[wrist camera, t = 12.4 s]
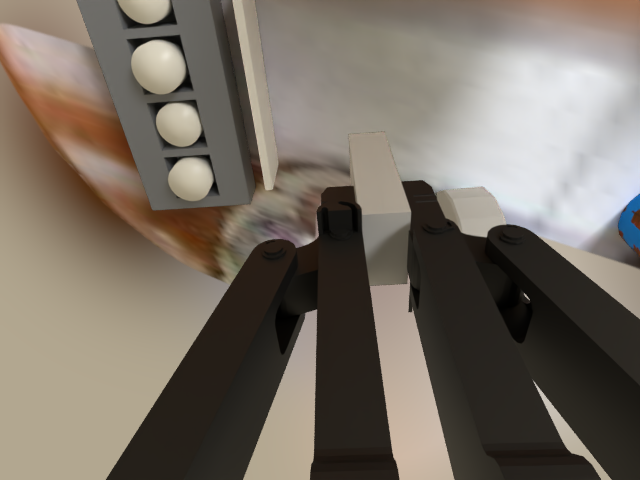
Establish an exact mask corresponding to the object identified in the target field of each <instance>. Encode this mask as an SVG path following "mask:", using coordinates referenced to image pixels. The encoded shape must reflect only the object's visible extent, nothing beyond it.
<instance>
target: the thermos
mask: <svg viewBox="0 0 640 480" xmlns="http://www.w3.org/2000/svg"><path fill="white" fill-rule="evenodd" d="M618 228H619V235H620V236H621V237H622V238H623V239H624V241H625V242H626V243H627V244H628V245H629V246H630V247H631V248H632V249H633V251H634V252H635V253H636V254H637V255H638V256H639V257H640V194H639V195H638V196H636V197H635V198H634V199H633V200H632V201H630V203H629V204H628V205H627V207H626V208H625V209H624V211H623V212H622V214H621V217H620V220H619V223H618Z"/></svg>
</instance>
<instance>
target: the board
mask: <svg viewBox="0 0 640 480" xmlns="http://www.w3.org/2000/svg"><path fill="white" fill-rule="evenodd" d="M77 3H78V6H79V8H80V11H81V14H82V17H83V20H84V22H85V25H86V28H87V31H88V33H89V36H90V39H91V42H92V44H93V47H94V50H95V53H96V56H97V58H98V61H99V64H100V67H101V69H102V72H103V75H104V78H105V80H106V83H107V86H108V89H109V91H110V94H111V97H112V100H113V102H114V105H115V108H116V111H117V113H118V116H119V119H120V122H121V125H122V127H123V130H124V133H125V136H126V138H127V141H128V144H129V147H130V149H131V152H132V155H133V158H134V160H135V163H136V166H137V169H138V171H139V174H140V177H141V180H142V183H143V185H144V188H145V191H146V194H147V196H148V199H149V202H150V205H151V207H152V210H166V209H182V208H198V207H213V206H229V205H245V204H251V200H252V197H253V194H254V191H255V187H256V186H255V180H254V175H253V170H252V164H251V159H250V154H249V149H248V143H247V138H246V133H245V127H244V122H243V117H242V111H241V106H240V101H239V95H238V90H237V85H236V80H235V74H234V69H233V64H232V58H231V53H230V48H229V42H228V37H227V32H226V26H225V21H224V16H223V11H222V5H221V0H172V5H173V9H174V12H173V13H172V14H171V15H170V16H169V17H168V18H166V19H163V20H160V21H158V22H155V23H152V24H142V23H139V22H137V21H135V20H133V19H131V18H130V17H129V16H128V15H127V14H126V13H125V12H124V11H123V10H122V8H121V7H120V5H119V3H118V1H117V0H77ZM156 38H166V39H170V40H172V41H174V42H175V43H177V44H178V45H179V46H180V47H181V48H182V49H183V50H184V53H185V57H186V61H187V65H188V69H189V73H188V76H187V78H186V79H185V81H184V82H183V83H181V84H180V85H179V86H178V87H177V88H176V89H175V90H173V91H172V92H170V93H168V94H155V93H152V92H150V91H148V90H146V89H145V88H144V87H142V86H141V85H140V84H139V82H138V81H137V80H136V78H135V76H134V74H133V71H132V67H131V59H132V55H133V53H134V51H135V50H136V49H137V48H138V47H139V46H141V45H143V44H145V43H147V42H149V41H151V40H153V39H156ZM181 100H195V101H197V105H198V109H199V114H200V118H201V122H202V126H203V132H202V133H201V135H200V136H199V137H198V139H197V140H196V141H195V142H194V143H193V144H191V145H189V146H185V147H180V146H175V145H172V144H170V143H169V142H167V141H166V140H165V139H164V138H163V137H162V136H161V135H160V133H159V131H158V129H157V126H156V117H157V114H158V112H159V111H160V110H161V109H162V108H163V107H164V106H165V105H166V104H167V103H168V102H169V101H181ZM193 155H203V156H205V157H206V158H207V159H209V160H210V161H211V163H212V166H213V170H214V174H215V180H214V182H213V184H212V186H211V188H210V190H209V192H208V194H207V195H206V196H205V197H204V198H203V199H201V200H198V201H188V200H184V199H182V198H180V197H178V196H177V195H176V194H175V193H174V192H173V191H172V190H171V188H170V186H169V183H168V176H169V173H170V171H171V170H172V168H173V167H174V165H175V164H176V163H177V161H178V160H179V159H180V158H181V157H182V156H193Z"/></svg>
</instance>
